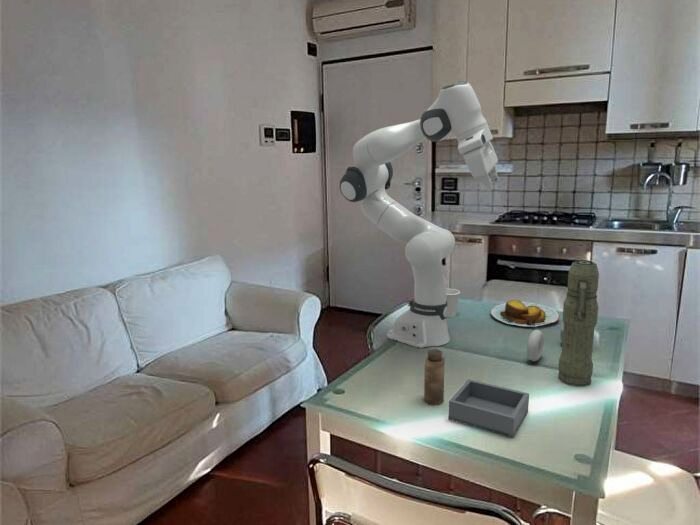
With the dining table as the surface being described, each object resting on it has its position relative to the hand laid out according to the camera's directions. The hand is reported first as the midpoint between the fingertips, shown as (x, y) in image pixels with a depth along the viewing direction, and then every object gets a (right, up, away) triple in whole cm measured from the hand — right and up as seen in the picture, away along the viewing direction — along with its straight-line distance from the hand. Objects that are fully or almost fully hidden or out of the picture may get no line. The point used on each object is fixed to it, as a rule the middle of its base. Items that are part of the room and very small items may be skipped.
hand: (493, 186), depth 137 cm
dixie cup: (0, -43, +64) cm, 77 cm away
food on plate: (+29, -44, +58) cm, 78 cm away
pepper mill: (-17, -59, -4) cm, 61 cm away
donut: (+19, -53, +20) cm, 59 cm away
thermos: (+25, -55, +6) cm, 61 cm away
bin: (-5, -60, -12) cm, 61 cm away
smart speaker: (+36, -50, +29) cm, 68 cm away
